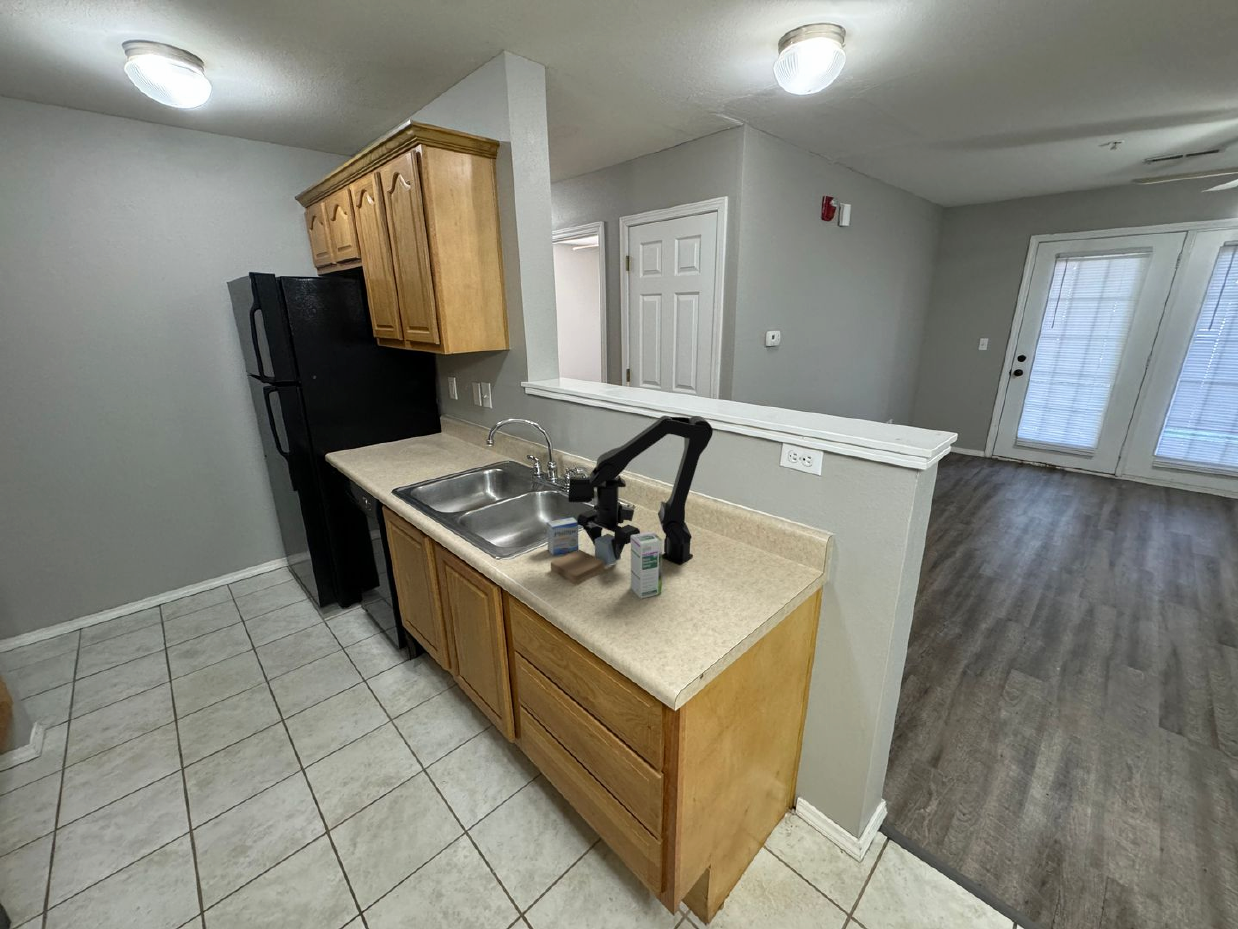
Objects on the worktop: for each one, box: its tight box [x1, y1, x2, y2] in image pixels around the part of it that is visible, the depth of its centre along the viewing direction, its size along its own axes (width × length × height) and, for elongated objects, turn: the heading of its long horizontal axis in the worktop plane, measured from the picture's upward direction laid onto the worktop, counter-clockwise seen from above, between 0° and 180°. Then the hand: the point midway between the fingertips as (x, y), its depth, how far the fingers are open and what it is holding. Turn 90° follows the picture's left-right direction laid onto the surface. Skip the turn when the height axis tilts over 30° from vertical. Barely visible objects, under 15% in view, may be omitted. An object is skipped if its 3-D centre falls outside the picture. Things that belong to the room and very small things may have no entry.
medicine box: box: [546, 516, 580, 556], centre depth 141 cm, size 8×4×9 cm, turn 117°
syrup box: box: [630, 530, 663, 600], centre depth 120 cm, size 6×6×14 cm
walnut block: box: [550, 549, 606, 586], centre depth 131 cm, size 10×10×3 cm
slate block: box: [594, 533, 622, 566], centre depth 137 cm, size 5×5×6 cm
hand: (607, 554), depth 137 cm, fingers open, 7 cm apart
